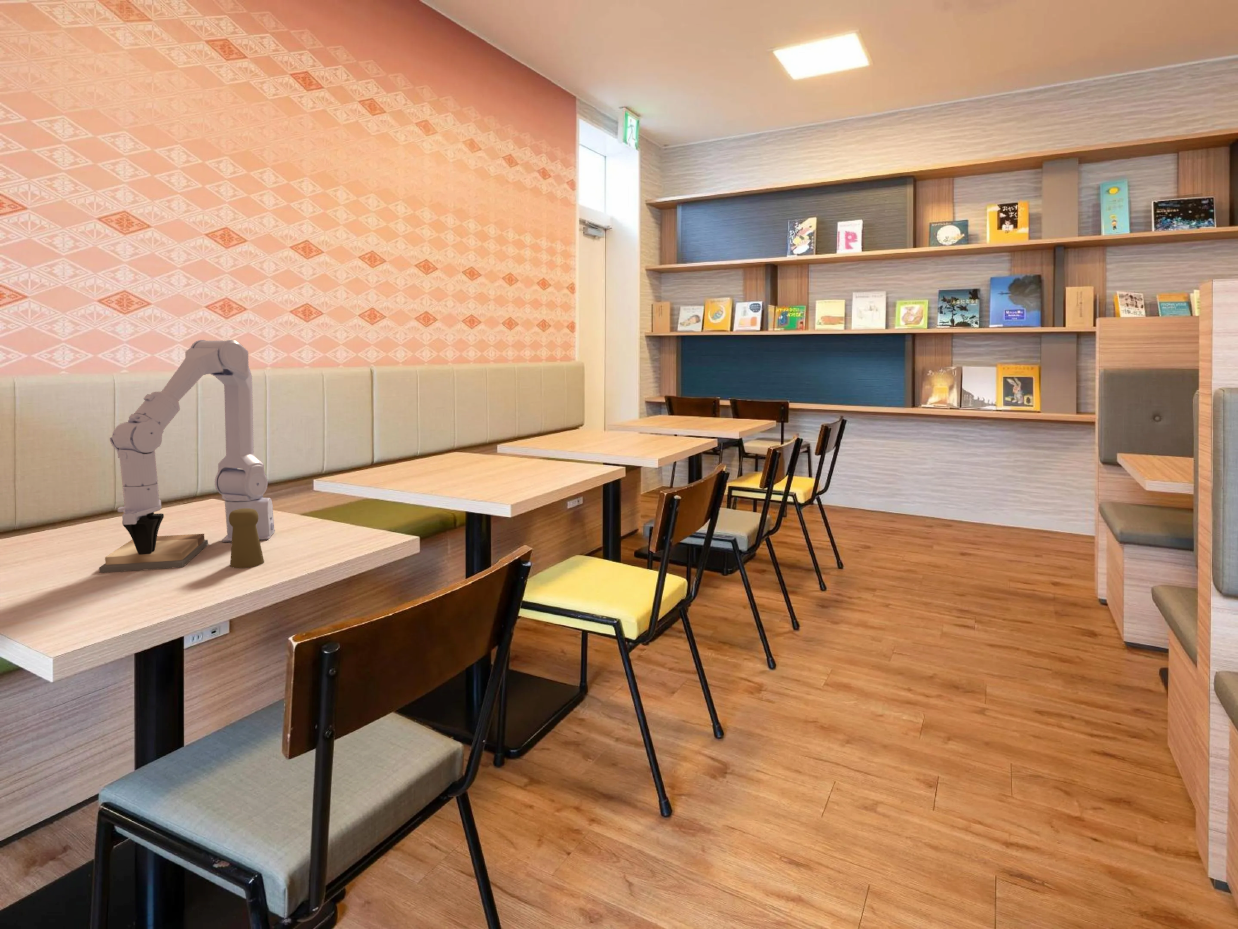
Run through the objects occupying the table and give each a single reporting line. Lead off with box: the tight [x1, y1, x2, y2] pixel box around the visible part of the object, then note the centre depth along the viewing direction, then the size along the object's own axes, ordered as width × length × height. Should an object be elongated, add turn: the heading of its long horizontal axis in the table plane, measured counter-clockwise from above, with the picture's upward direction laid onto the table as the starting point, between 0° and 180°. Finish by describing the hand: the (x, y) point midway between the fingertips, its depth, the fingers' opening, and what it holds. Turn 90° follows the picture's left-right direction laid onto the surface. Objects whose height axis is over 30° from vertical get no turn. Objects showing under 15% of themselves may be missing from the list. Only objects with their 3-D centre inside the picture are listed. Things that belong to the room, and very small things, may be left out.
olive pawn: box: [229, 508, 265, 569], centre depth 142 cm, size 6×6×11 cm
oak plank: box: [104, 539, 198, 565], centre depth 145 cm, size 13×11×2 cm
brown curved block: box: [127, 533, 206, 546], centre depth 153 cm, size 13×4×2 cm, turn 105°
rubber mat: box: [98, 539, 209, 573], centre depth 147 cm, size 14×18×1 cm
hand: (146, 552), depth 141 cm, fingers closed on oak plank
